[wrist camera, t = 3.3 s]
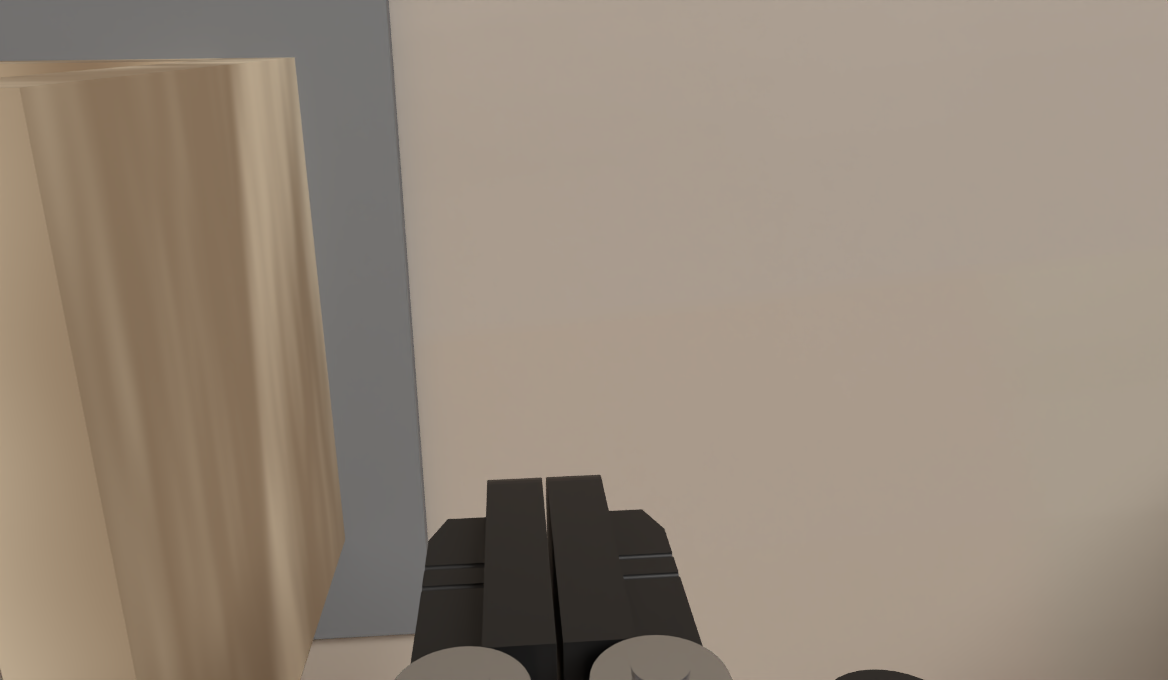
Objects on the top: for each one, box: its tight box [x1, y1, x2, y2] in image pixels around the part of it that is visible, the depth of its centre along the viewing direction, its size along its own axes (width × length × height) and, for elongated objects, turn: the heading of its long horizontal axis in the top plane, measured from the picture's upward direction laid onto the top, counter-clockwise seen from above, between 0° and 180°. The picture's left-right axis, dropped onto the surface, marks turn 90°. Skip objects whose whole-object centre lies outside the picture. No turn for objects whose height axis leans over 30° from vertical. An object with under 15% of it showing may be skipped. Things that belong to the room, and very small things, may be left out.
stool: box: [0, 57, 345, 680], centre depth 16 cm, size 7×12×12 cm, turn 1°
